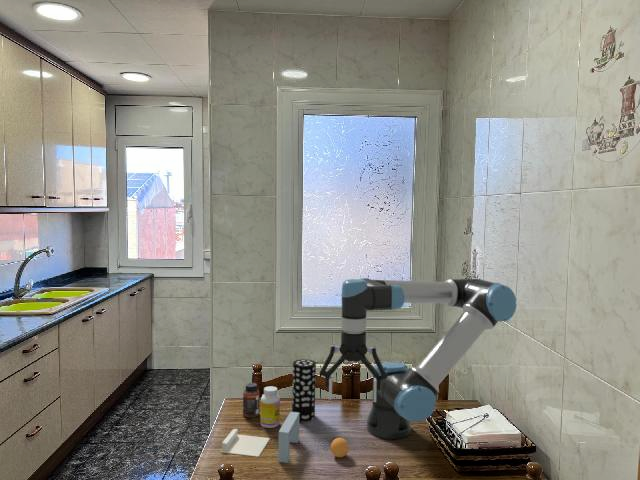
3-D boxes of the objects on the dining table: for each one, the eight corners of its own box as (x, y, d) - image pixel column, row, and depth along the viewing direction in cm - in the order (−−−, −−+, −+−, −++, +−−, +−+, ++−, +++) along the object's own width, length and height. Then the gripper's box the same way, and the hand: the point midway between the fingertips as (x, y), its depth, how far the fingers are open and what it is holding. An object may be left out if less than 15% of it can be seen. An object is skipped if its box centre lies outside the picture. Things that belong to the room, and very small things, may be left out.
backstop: (237, 436, 156) (237, 429, 156) (226, 451, 146) (226, 443, 146) (233, 436, 157) (233, 428, 156) (221, 450, 147) (221, 442, 147)
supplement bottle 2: (276, 429, 162) (276, 393, 161) (257, 427, 163) (258, 391, 162) (281, 421, 168) (282, 386, 168) (263, 419, 170) (264, 384, 169)
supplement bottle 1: (261, 416, 172) (262, 385, 172) (246, 419, 169) (247, 388, 168) (255, 410, 177) (255, 380, 177) (240, 413, 174) (240, 383, 173)
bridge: (298, 440, 155) (299, 412, 154) (287, 462, 141) (288, 432, 140) (290, 439, 155) (290, 411, 155) (278, 461, 141) (278, 431, 141)
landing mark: (269, 438, 155) (269, 438, 155) (258, 457, 144) (258, 456, 144) (235, 434, 158) (235, 434, 157) (221, 452, 146) (221, 451, 146)
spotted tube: (319, 415, 174) (320, 362, 173) (306, 423, 167) (307, 368, 166) (300, 410, 178) (301, 357, 177) (287, 417, 171) (288, 363, 170)
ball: (349, 452, 147) (349, 435, 147) (347, 461, 142) (347, 444, 142) (332, 450, 148) (332, 433, 148) (329, 459, 143) (329, 442, 143)
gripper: (394, 329, 146) (393, 396, 147) (314, 326, 148) (313, 392, 150) (395, 335, 138) (394, 406, 139) (311, 332, 141) (310, 401, 142)
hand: (352, 399), depth 145 cm, fingers open, 13 cm apart
